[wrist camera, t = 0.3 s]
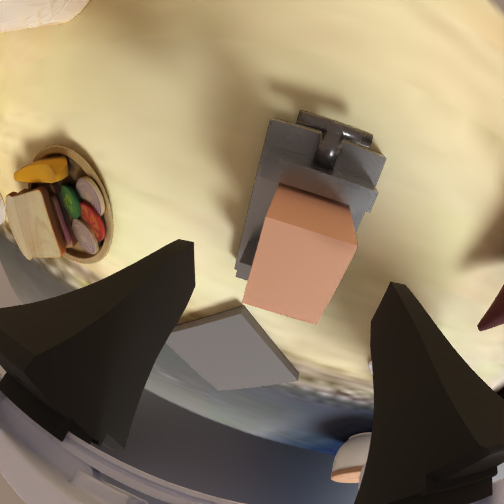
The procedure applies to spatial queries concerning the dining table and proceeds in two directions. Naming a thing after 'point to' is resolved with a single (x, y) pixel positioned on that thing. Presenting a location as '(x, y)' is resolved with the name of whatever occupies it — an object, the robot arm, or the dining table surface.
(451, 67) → the dining table surface
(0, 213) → the coffee cup
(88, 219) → the toy sandwich meal
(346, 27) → the dining table surface
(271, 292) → the block
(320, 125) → the vise
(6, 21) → the white cup
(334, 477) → the lidded jar
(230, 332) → the mat
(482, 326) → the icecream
